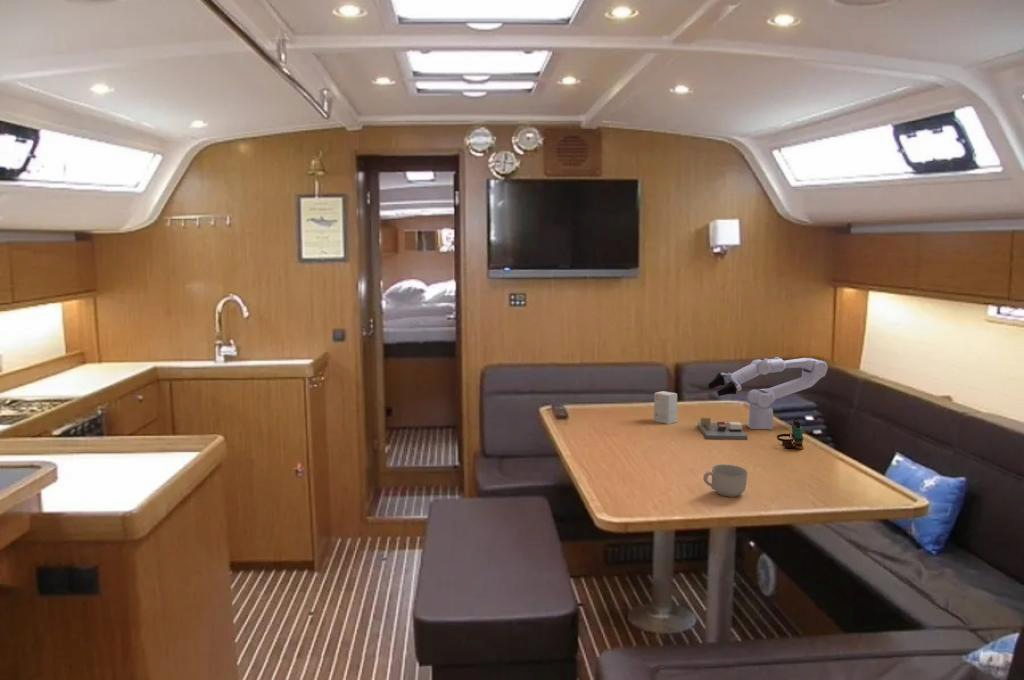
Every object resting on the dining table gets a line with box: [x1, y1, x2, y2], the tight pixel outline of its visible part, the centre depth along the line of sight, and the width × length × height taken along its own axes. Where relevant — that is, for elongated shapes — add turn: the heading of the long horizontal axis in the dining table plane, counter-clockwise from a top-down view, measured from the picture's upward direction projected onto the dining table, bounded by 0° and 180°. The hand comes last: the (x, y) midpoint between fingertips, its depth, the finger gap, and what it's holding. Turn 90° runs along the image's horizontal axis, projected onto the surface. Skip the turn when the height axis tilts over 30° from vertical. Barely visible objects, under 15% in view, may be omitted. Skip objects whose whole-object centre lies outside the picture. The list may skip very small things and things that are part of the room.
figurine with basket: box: [776, 418, 805, 450], centre depth 287 cm, size 9×11×10 cm
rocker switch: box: [716, 421, 726, 429], centre depth 308 cm, size 3×5×1 cm, turn 175°
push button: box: [728, 421, 743, 430], centre depth 307 cm, size 4×4×2 cm
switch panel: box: [697, 422, 748, 441], centre depth 310 cm, size 16×22×2 cm
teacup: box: [703, 463, 749, 498], centre depth 233 cm, size 14×11×8 cm
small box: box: [653, 390, 678, 425], centre depth 329 cm, size 8×6×13 cm
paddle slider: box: [699, 416, 711, 425], centre depth 315 cm, size 4×2×3 cm, turn 85°
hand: (713, 390), depth 313 cm, fingers open, 7 cm apart
